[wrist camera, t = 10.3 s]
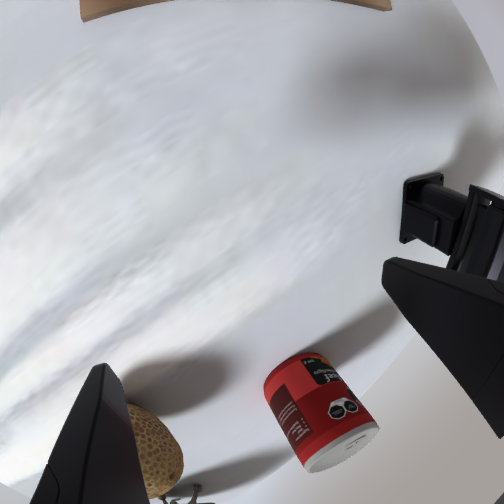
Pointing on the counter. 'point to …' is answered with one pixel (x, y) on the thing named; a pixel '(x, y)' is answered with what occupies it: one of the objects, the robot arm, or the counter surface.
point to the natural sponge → (156, 452)
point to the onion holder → (104, 3)
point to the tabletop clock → (197, 489)
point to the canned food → (318, 412)
